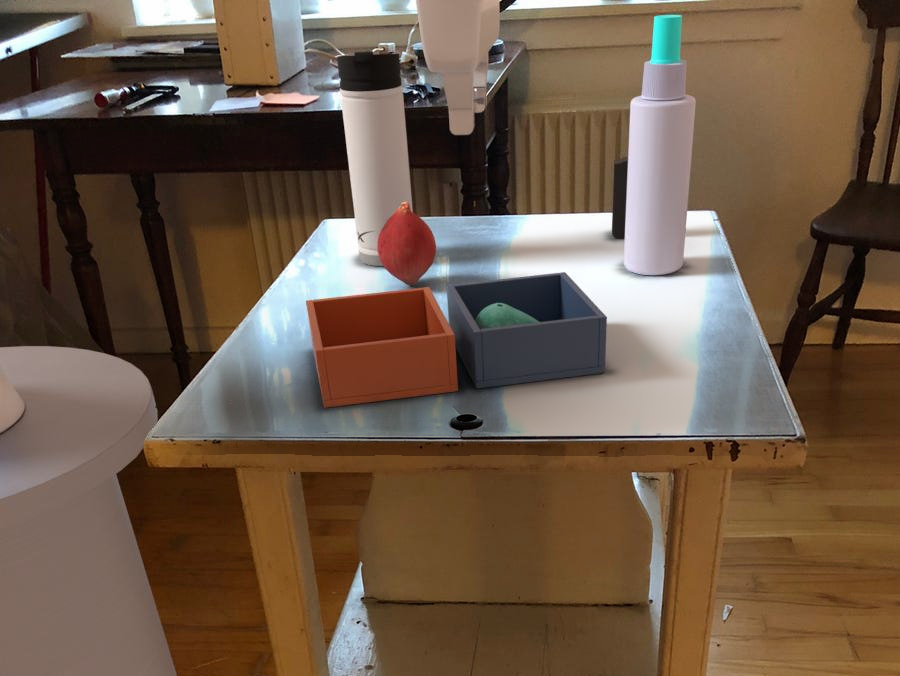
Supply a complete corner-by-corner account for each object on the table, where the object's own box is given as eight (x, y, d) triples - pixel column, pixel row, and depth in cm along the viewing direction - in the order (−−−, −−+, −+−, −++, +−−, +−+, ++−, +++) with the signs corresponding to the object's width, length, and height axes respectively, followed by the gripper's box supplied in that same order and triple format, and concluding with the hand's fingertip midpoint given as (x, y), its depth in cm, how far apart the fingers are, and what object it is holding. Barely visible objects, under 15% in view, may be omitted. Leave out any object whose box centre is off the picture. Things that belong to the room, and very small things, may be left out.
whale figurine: (478, 337, 85) (476, 293, 83) (562, 337, 84) (562, 292, 82) (470, 362, 81) (467, 316, 78) (558, 362, 80) (558, 316, 78)
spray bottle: (627, 278, 98) (639, 21, 85) (620, 260, 103) (629, 15, 90) (687, 275, 98) (708, 17, 85) (677, 257, 103) (695, 11, 90)
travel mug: (355, 269, 105) (330, 54, 93) (363, 251, 110) (340, 45, 98) (413, 266, 105) (395, 50, 92) (418, 249, 110) (402, 42, 98)
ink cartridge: (655, 232, 111) (660, 155, 106) (656, 237, 109) (661, 160, 104) (611, 233, 112) (614, 156, 107) (611, 238, 110) (614, 161, 105)
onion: (376, 294, 98) (366, 209, 93) (388, 276, 102) (380, 195, 97) (432, 294, 97) (426, 209, 92) (442, 276, 102) (437, 194, 97)
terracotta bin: (324, 408, 76) (315, 350, 73) (313, 352, 86) (305, 300, 83) (458, 391, 78) (454, 334, 75) (433, 338, 87) (429, 286, 84)
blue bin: (476, 389, 78) (473, 332, 75) (449, 336, 87) (446, 284, 85) (605, 372, 79) (607, 316, 76) (564, 323, 89) (565, 271, 86)
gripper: (437, -92, 79) (447, 101, 87) (394, -89, 63) (411, 148, 71) (514, -96, 78) (517, 99, 86) (491, -93, 62) (497, 146, 70)
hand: (469, 122), depth 79 cm, fingers open, 8 cm apart
